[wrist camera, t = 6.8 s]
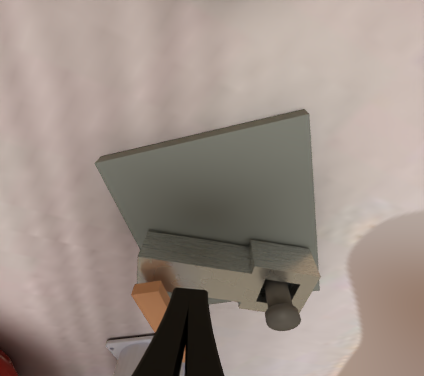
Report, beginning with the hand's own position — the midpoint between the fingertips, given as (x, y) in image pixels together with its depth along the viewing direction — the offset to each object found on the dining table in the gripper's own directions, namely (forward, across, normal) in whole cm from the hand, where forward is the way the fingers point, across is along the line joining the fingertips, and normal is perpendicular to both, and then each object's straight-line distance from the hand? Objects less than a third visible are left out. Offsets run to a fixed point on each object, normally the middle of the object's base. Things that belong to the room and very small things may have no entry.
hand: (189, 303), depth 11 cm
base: (+8, -2, +3) cm, 9 cm away
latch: (+7, -2, +5) cm, 9 cm away
